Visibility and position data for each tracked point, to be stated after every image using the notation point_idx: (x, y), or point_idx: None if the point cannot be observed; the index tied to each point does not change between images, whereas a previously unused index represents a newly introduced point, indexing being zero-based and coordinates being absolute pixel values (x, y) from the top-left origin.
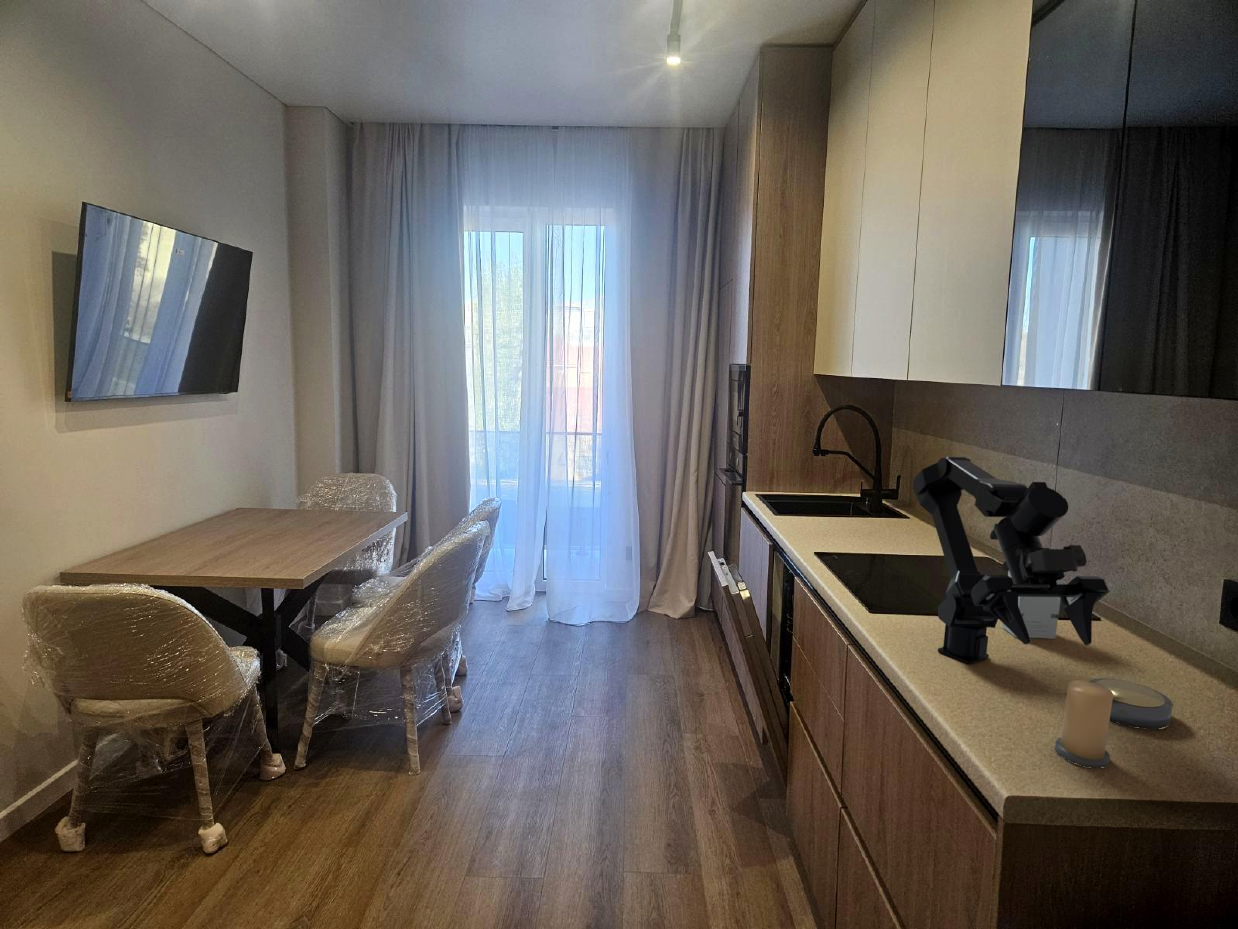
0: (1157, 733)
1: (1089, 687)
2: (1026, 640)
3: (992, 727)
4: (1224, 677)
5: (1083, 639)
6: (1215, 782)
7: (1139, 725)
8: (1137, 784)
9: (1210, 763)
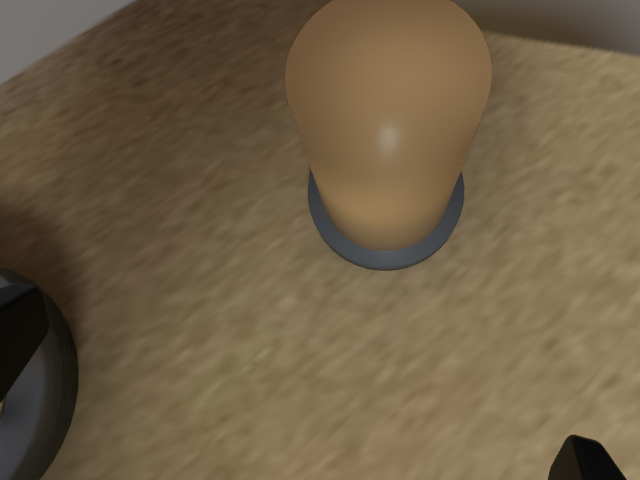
0: (12, 250)
1: (374, 86)
2: (607, 454)
3: (559, 432)
4: None
5: (16, 354)
6: (136, 24)
7: (30, 284)
8: None
9: (48, 92)
